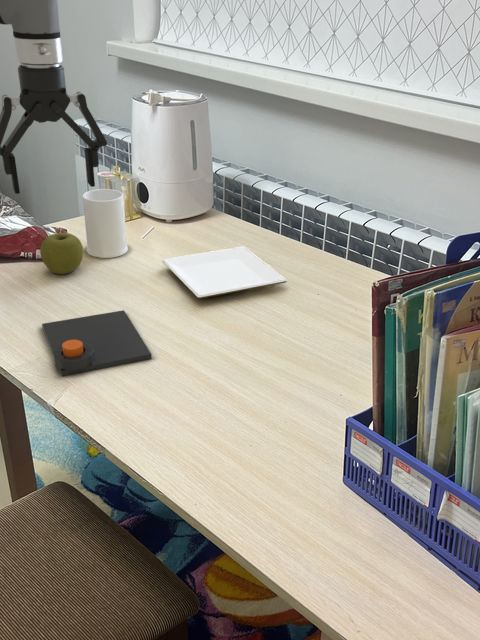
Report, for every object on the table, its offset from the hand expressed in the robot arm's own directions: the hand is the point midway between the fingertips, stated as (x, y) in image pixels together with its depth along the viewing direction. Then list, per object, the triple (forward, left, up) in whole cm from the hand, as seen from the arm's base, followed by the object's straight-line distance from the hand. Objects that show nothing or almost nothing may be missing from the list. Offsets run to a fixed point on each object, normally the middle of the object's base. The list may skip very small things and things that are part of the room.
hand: (54, 188), depth 128 cm
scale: (+30, -1, -17) cm, 34 cm away
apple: (0, 0, -17) cm, 17 cm away
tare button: (+35, -6, -15) cm, 39 cm away
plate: (+14, +28, -17) cm, 36 cm away
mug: (-9, +11, -17) cm, 22 cm away
